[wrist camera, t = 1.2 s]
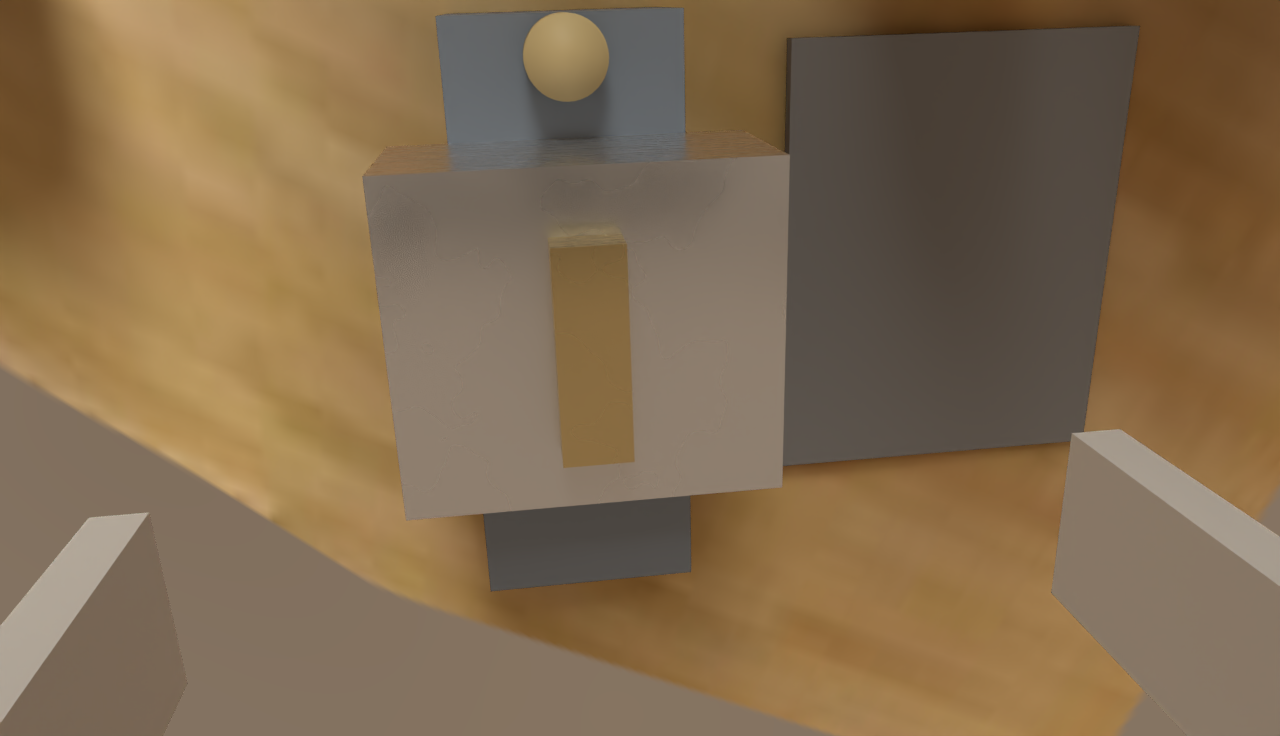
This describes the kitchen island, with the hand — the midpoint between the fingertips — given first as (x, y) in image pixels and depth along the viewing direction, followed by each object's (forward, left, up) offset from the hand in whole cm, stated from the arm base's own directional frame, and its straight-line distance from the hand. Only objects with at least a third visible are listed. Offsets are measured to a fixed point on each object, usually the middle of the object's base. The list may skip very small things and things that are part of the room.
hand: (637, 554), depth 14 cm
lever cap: (0, 0, -13) cm, 13 cm away
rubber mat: (+1, +13, -18) cm, 22 cm away
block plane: (+1, 0, -18) cm, 18 cm away
